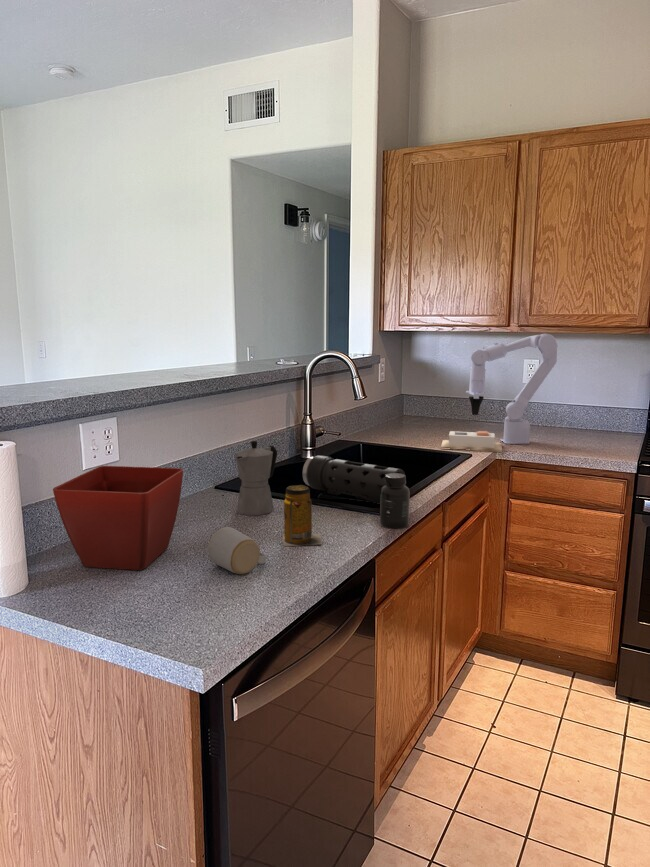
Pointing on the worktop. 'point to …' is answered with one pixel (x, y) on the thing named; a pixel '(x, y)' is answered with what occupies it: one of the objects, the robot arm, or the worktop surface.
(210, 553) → the ceramic mug
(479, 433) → the terracotta plunger
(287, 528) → the condiment
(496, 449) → the birch board
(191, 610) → the worktop surface
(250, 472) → the coffeepot
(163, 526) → the plant pot
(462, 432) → the grey cube
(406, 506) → the supplement bottle
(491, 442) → the plunger panel
